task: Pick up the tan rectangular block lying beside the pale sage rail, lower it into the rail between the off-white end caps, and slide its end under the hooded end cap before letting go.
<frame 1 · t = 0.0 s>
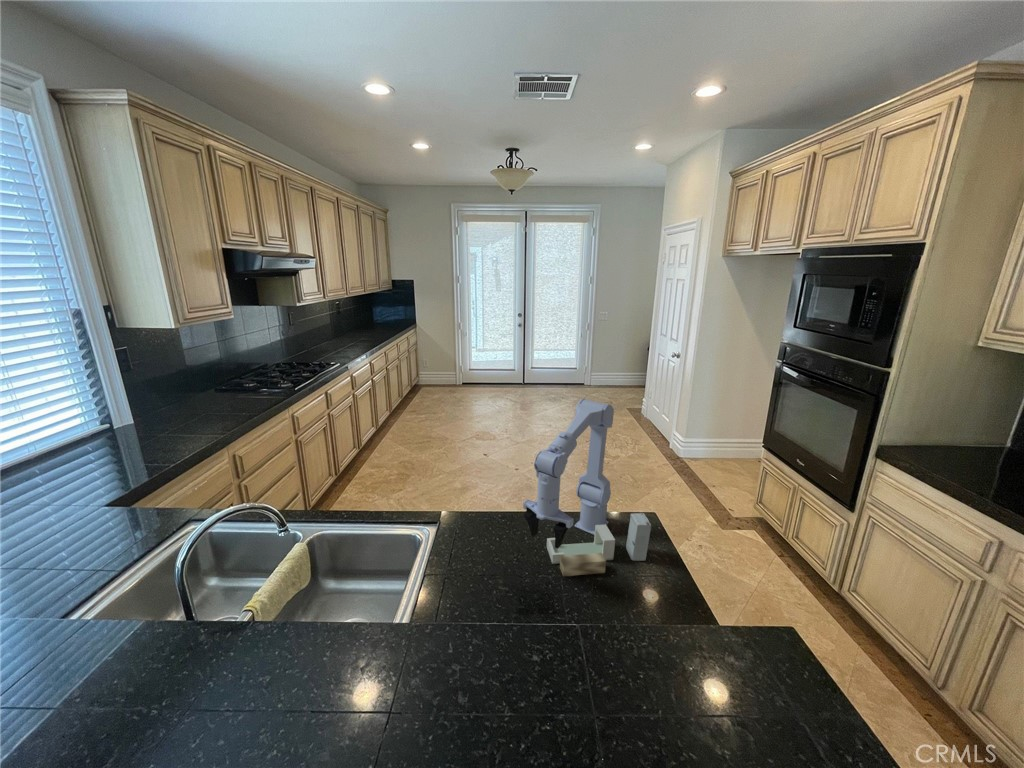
hand: (546, 540, 108), 10 cm above the countertop, tool pointing down, fingers open, 7 cm apart
tan rectangular block: (582, 570, 112), on the countertop
endcap rail: (584, 552, 119), on the countertop
skincare box: (636, 555, 119), on the countertop
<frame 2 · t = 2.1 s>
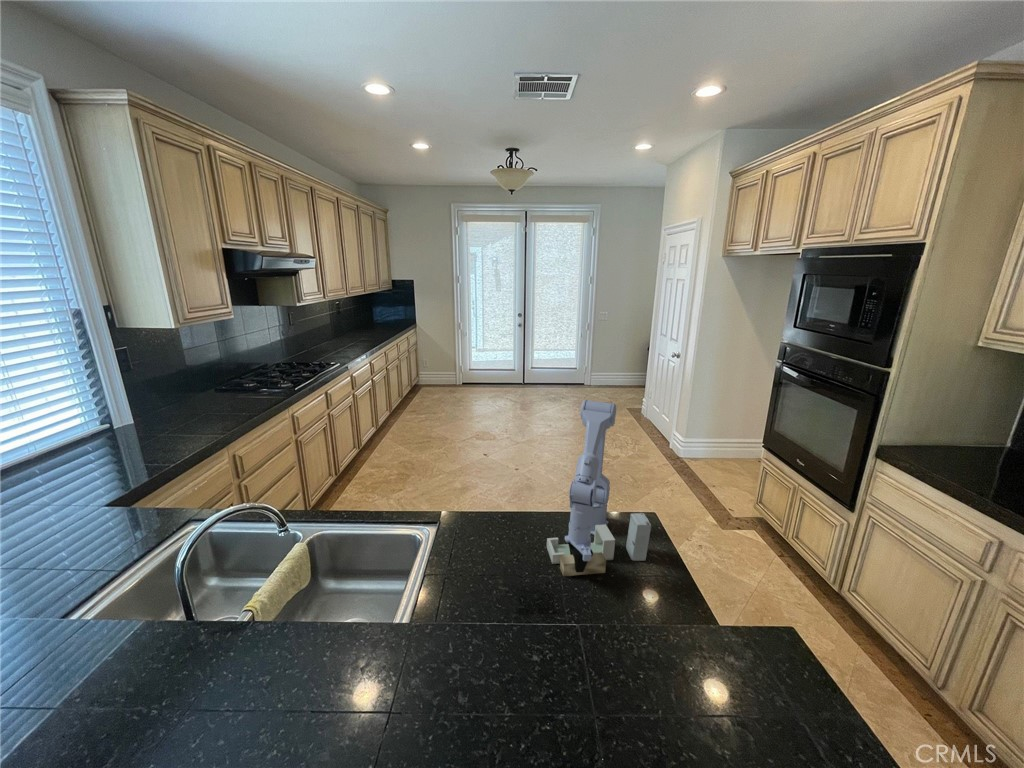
hand: (577, 566, 111), 1 cm above the countertop, tool pointing down, fingers closed on tan rectangular block, 4 cm apart
tan rectangular block: (582, 570, 112), on the countertop, touching gripper
everything else where it was.
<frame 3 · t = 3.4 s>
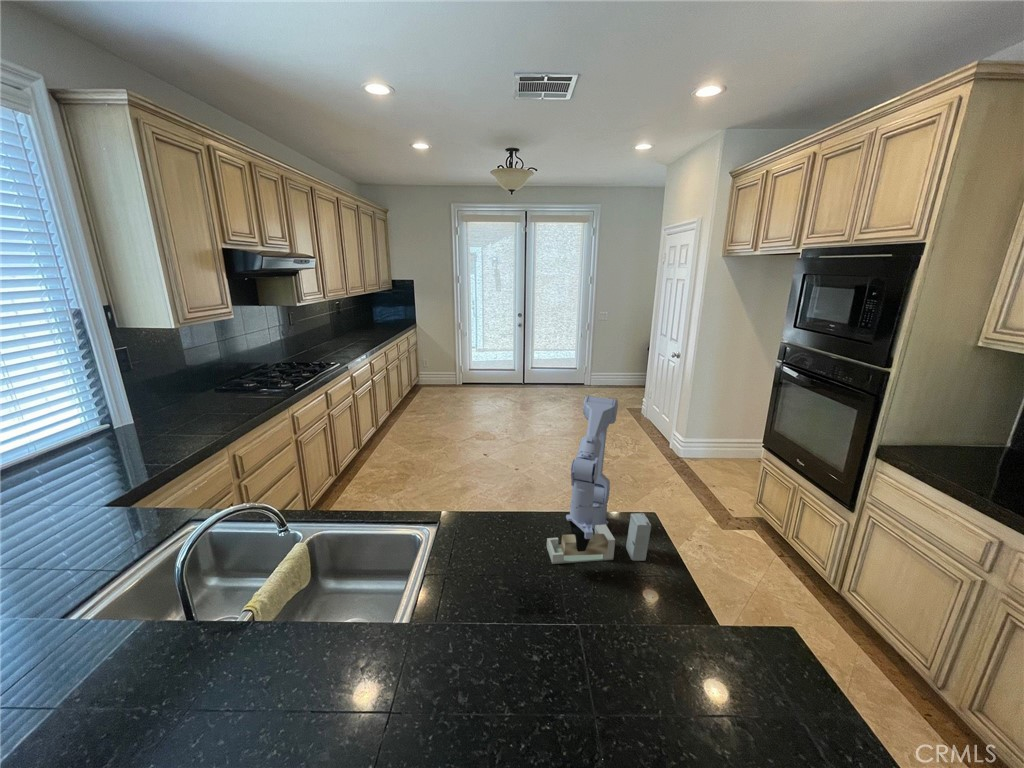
hand: (578, 545, 110), 8 cm above the countertop, tool pointing down, fingers closed on tan rectangular block, 3 cm apart
tan rectangular block: (583, 550, 110), point 6 cm above the countertop, touching gripper
everything else where it was.
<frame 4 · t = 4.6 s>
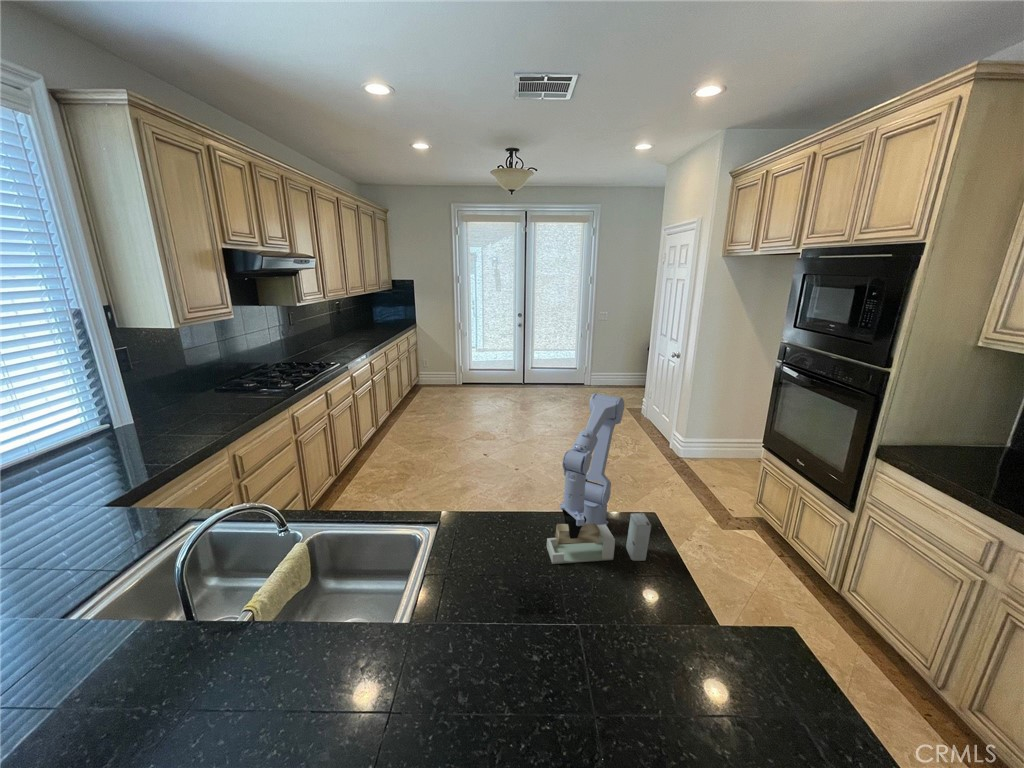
hand: (571, 533, 116), 7 cm above the countertop, tool pointing down, fingers closed on tan rectangular block, 3 cm apart
tan rectangular block: (576, 539, 117), point 5 cm above the countertop, touching gripper
everything else where it was.
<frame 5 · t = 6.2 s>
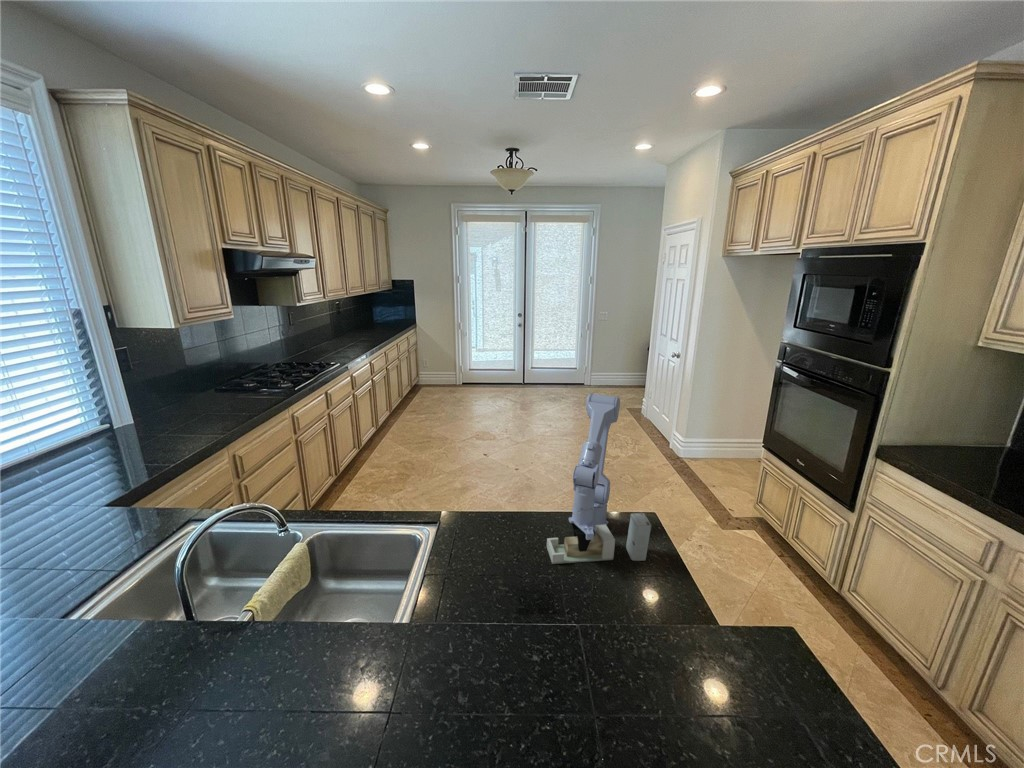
hand: (580, 546, 118), 2 cm above the countertop, tool pointing down, fingers closed on tan rectangular block, 3 cm apart
tan rectangular block: (585, 551, 119), point 1 cm above the countertop, touching gripper
everything else where it was.
when the fingers open (2 cm above the countertop, at t = 7.0 s): tan rectangular block stays where it is, resting on endcap rail.
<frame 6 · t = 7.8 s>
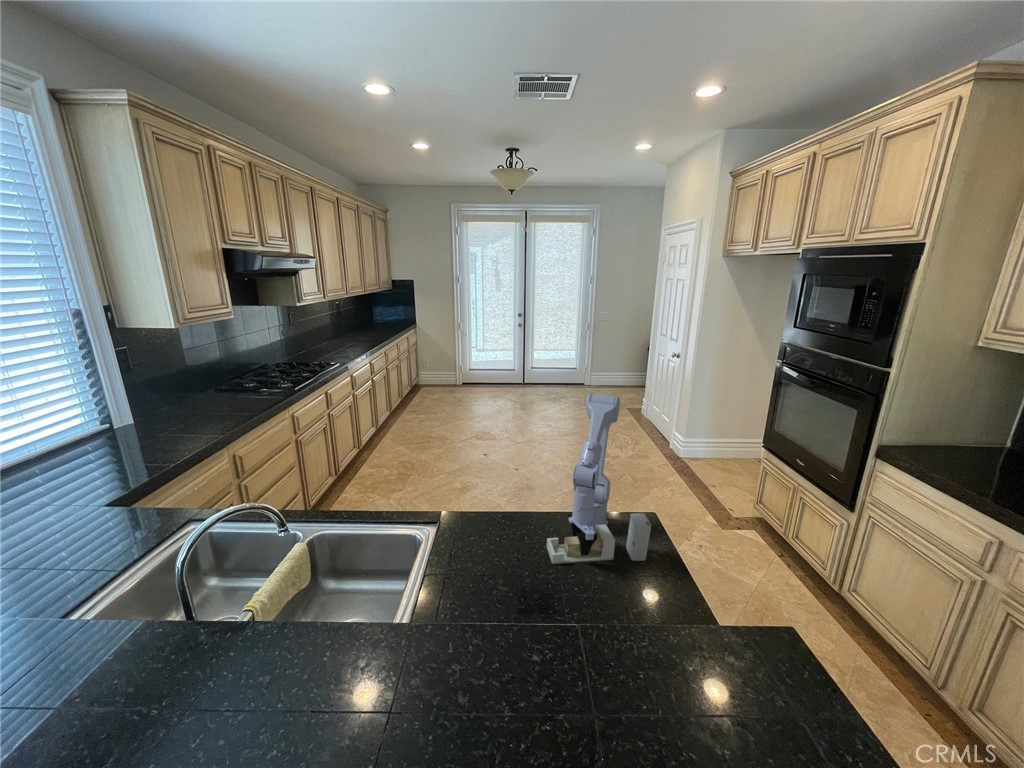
hand: (580, 546, 118), 2 cm above the countertop, tool pointing down, fingers open, 7 cm apart
tan rectangular block: (585, 551, 119), resting on endcap rail
everything else where it was.
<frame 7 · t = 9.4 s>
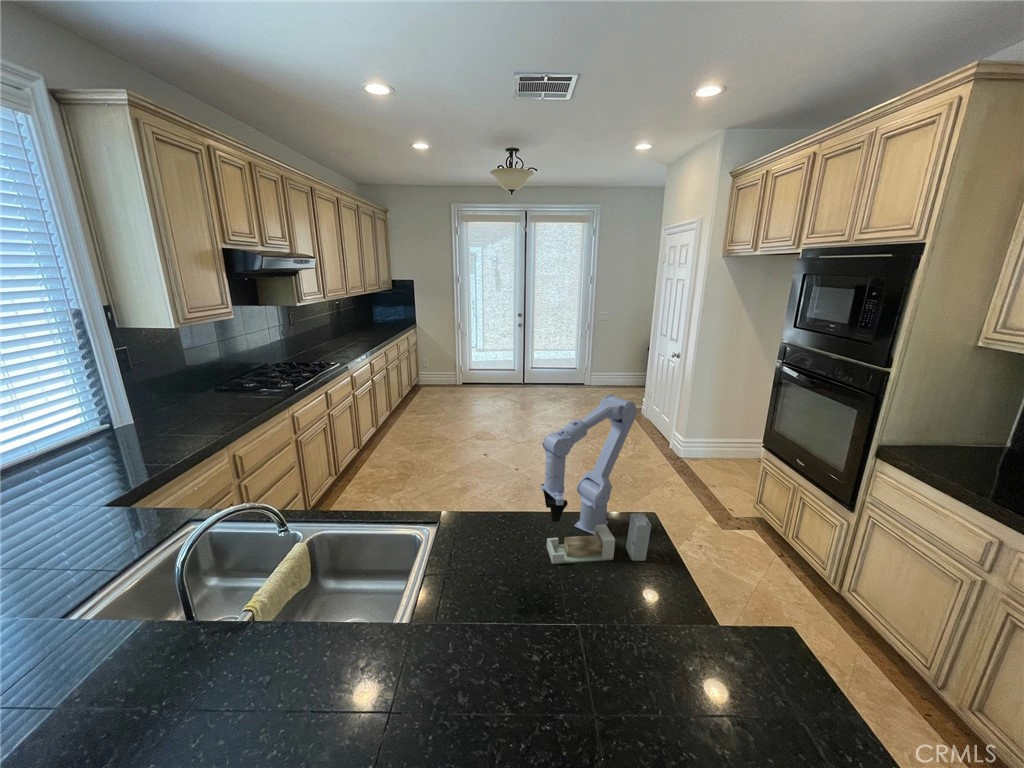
hand: (552, 513, 122), 9 cm above the countertop, tool pointing down, fingers open, 7 cm apart
nothing on the countertop moved.
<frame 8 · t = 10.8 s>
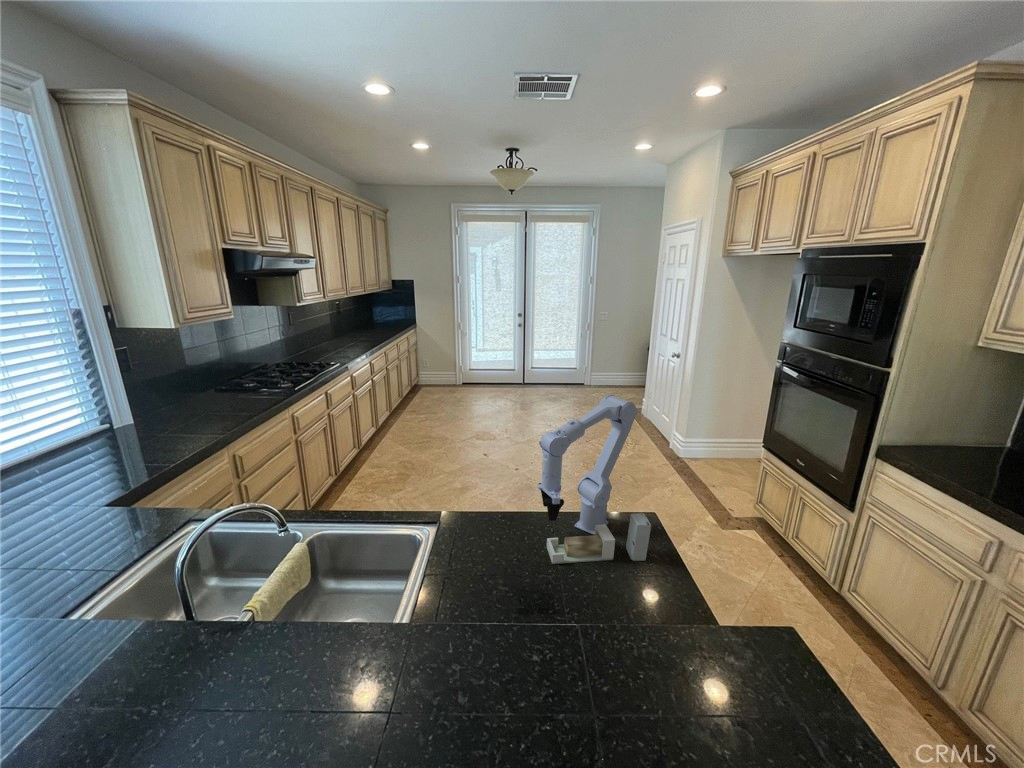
hand: (549, 512, 122), 9 cm above the countertop, tool pointing down, fingers open, 7 cm apart
nothing on the countertop moved.
at the end: tan rectangular block 0.0 cm off-centre on the endcap rail, point 0.5 cm above the endcap rail's base; tan rectangular block tilted 0°; the gripper is holding nothing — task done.
